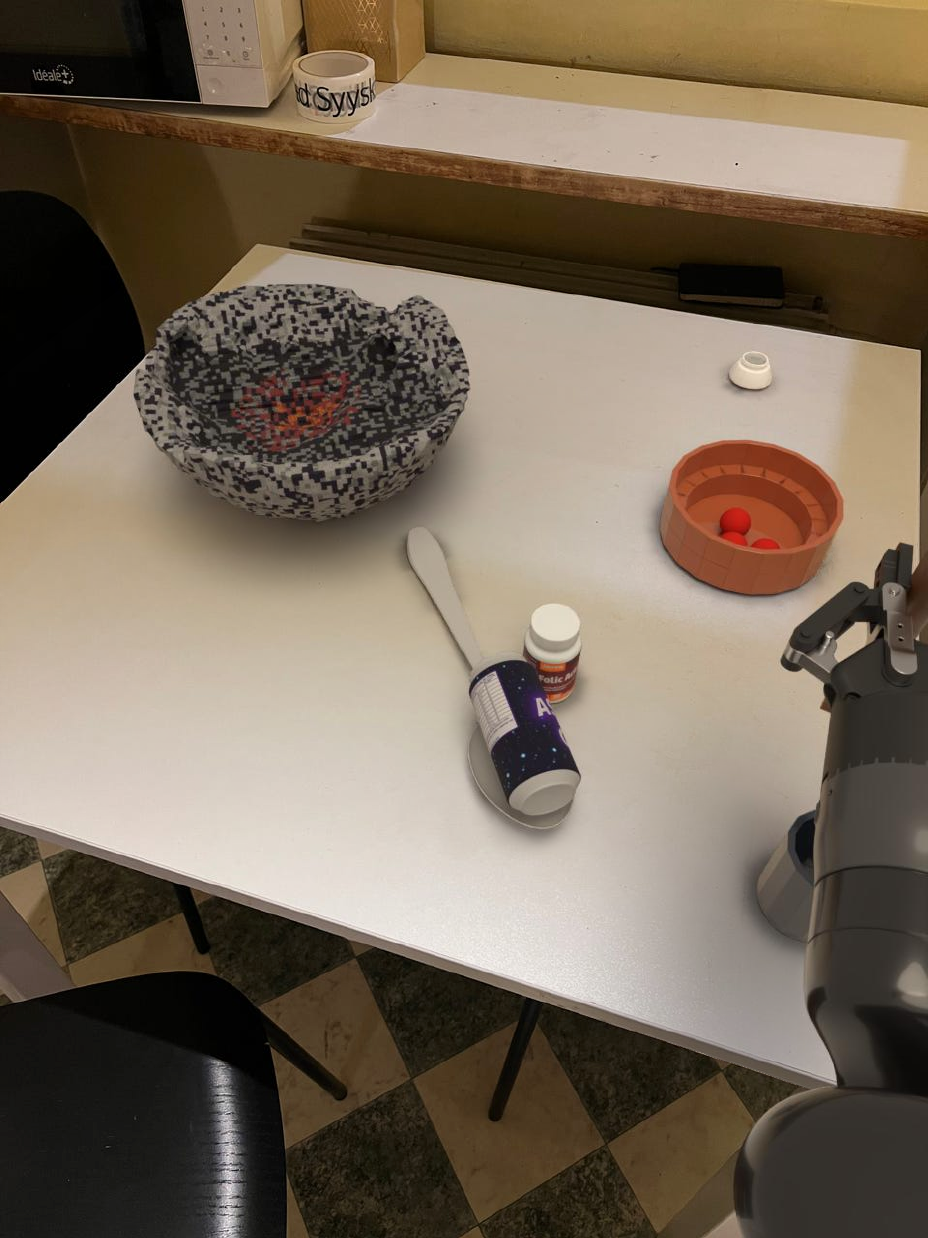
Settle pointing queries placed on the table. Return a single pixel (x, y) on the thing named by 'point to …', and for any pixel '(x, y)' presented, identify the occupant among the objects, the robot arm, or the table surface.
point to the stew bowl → (774, 499)
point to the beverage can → (522, 734)
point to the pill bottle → (554, 648)
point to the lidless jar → (751, 371)
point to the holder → (790, 880)
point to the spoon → (439, 585)
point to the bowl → (302, 396)
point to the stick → (913, 603)
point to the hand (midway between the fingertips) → (923, 560)
